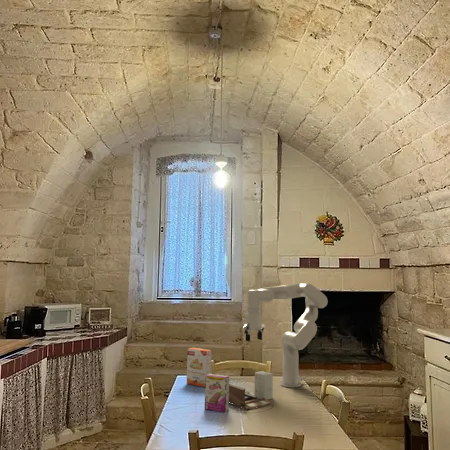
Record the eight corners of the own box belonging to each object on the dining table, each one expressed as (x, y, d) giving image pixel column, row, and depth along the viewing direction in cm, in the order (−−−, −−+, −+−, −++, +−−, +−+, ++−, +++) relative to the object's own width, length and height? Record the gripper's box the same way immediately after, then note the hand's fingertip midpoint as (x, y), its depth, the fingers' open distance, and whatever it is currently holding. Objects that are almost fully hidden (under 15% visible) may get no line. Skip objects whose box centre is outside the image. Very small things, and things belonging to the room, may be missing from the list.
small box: (272, 398, 234) (273, 373, 235) (264, 400, 230) (264, 375, 231) (262, 394, 240) (262, 370, 242) (254, 396, 236) (254, 372, 238)
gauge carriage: (244, 396, 233) (244, 392, 234) (264, 403, 221) (264, 399, 221) (233, 398, 229) (233, 394, 229) (253, 406, 217) (253, 401, 217)
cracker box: (186, 384, 259) (187, 348, 262) (192, 382, 265) (193, 346, 267) (205, 387, 252) (206, 351, 254) (211, 385, 257) (212, 349, 259)
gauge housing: (247, 396, 237) (247, 379, 238) (270, 404, 223) (270, 386, 224) (224, 401, 227) (224, 383, 228) (247, 410, 213) (247, 391, 214)
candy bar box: (204, 409, 212) (204, 375, 214) (207, 407, 217) (208, 373, 219) (225, 412, 209) (226, 377, 210) (229, 409, 213) (229, 375, 215)
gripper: (259, 309, 265) (259, 338, 263) (238, 311, 254) (238, 341, 252) (268, 310, 259) (268, 339, 258) (247, 312, 248) (247, 342, 246)
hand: (253, 340), depth 255 cm, fingers open, 9 cm apart
